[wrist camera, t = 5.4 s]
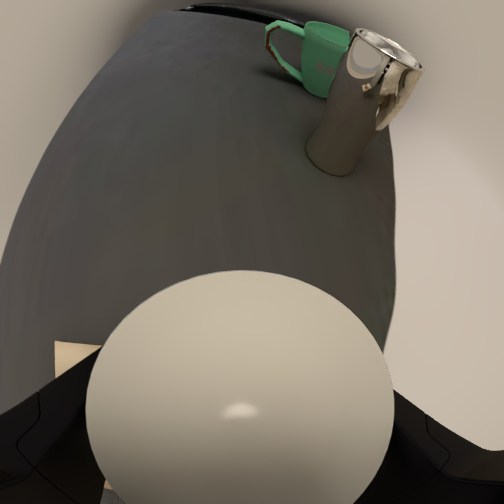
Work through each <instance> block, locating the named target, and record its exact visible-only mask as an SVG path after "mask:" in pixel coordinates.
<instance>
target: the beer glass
mask: <svg viewBox="0 0 504 504" xmlns="http://www.w3.org/2000/svg"><path fill="white" fill-rule="evenodd" d="M424 71H425V67H424V66H423V64H422V63H421V62H420V61H419V60H418V59H417V58H416V57H415V56H414V55H413V54H411V53H410V52H409V51H407V50H406V49H405V48H403V47H402V46H400V45H398V44H397V43H395V42H394V41H392V40H390V39H388V38H386V37H384V36H382V35H380V34H378V33H375V32H373V31H370V30H367V29H363V28H357V29H356V30H355V33H354V35H353V36H352V38H351V40H350V41H349V43H348V45H347V46H346V48H345V50H344V52H343V54H342V56H341V58H340V60H339V62H338V64H337V66H336V69H335V71H334V74H333V77H332V80H331V84H330V87H329V92H328V96H327V100H326V105H325V109H324V113H323V117H322V119H321V122H320V124H319V126H318V127H317V129H316V130H315V132H314V133H313V134H312V135H311V136H310V138H309V139H308V141H307V143H306V153H307V155H308V157H309V159H310V160H311V161H312V163H313V164H314V165H315V166H317V167H318V168H319V169H321V170H322V171H324V172H326V173H329V174H331V175H336V176H345V175H348V174H350V173H351V172H352V171H353V170H354V168H355V166H356V164H357V161H358V159H359V156H360V154H361V152H362V151H363V149H364V148H365V146H366V145H367V144H368V143H369V142H370V141H371V140H372V139H373V138H374V137H375V136H376V135H377V134H378V133H379V132H381V131H382V130H383V129H384V128H385V127H386V126H387V125H388V124H389V123H390V122H391V121H392V120H393V119H394V118H395V117H396V115H397V114H398V113H399V112H400V111H401V109H402V108H403V107H404V105H405V104H406V102H407V101H408V99H409V98H410V96H411V94H412V93H413V91H414V89H415V87H416V85H417V83H418V81H419V79H420V77H421V76H422V74H423V72H424Z"/></svg>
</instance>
